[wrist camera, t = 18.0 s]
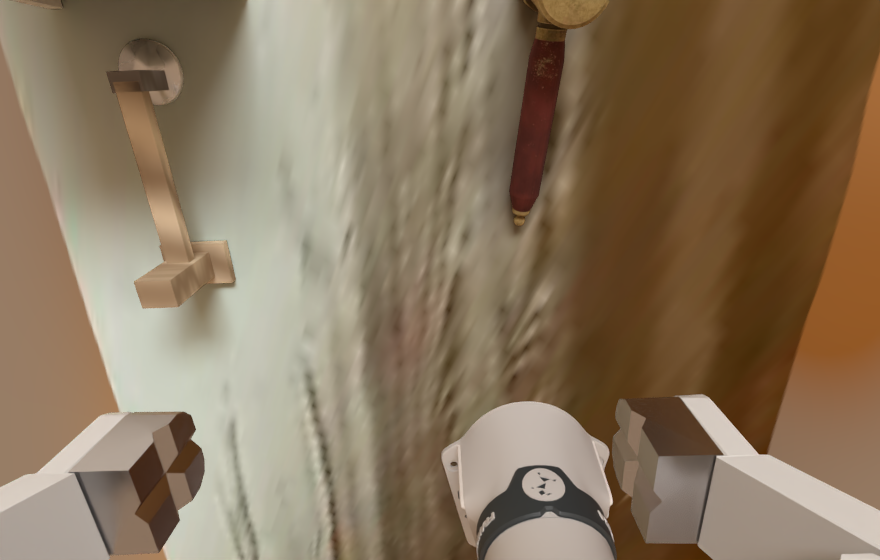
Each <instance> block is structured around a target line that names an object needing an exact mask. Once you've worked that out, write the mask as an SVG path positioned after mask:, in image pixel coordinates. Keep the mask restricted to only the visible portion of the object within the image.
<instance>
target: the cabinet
mask: <svg viewBox="0 0 880 560" xmlns="http://www.w3.org/2000/svg"><path fill="white" fill-rule="evenodd" d="M11 1H16V2H21V3H25V4H30V5H34V6H39V7H43V8H48V9H61V8H63V7H62V3H61V0H11Z"/></svg>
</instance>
